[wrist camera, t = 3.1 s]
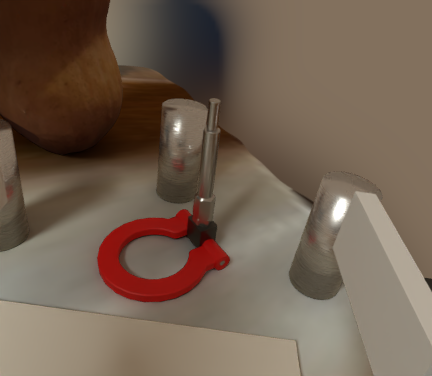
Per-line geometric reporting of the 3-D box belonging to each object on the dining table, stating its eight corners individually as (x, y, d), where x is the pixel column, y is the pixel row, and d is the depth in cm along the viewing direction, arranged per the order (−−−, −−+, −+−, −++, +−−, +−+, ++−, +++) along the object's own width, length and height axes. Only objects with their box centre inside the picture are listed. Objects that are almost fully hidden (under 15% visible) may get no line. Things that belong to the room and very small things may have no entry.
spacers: (-38, 231, 29) (-71, 124, 24) (161, 161, 42) (167, 83, 37) (153, 498, 17) (167, 394, 12) (346, 282, 30) (391, 191, 25)
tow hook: (123, 325, 24) (236, 274, 29) (112, 156, 17) (265, 124, 22) (84, 246, 30) (183, 214, 35) (62, 92, 23) (192, 78, 27)
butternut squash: (143, 137, 46) (154, -119, 33) (76, 189, 35) (49, -163, 22) (49, 109, 49) (23, -137, 35) (-41, 149, 38) (-129, -186, 24)
